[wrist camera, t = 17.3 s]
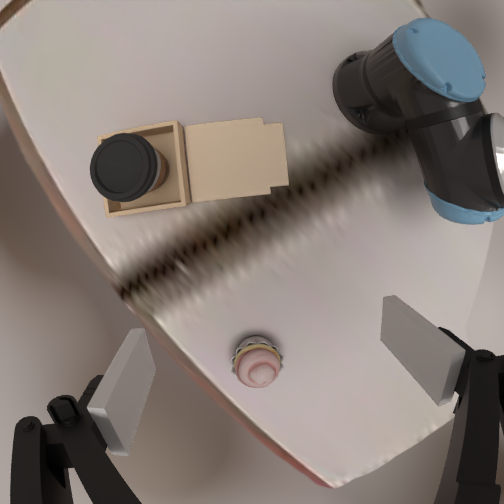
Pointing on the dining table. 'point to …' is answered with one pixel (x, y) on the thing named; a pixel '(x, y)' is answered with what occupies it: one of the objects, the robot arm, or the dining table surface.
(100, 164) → the coffee cup
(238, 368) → the cupcake
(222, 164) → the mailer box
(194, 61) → the dining table surface
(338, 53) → the dining table surface
